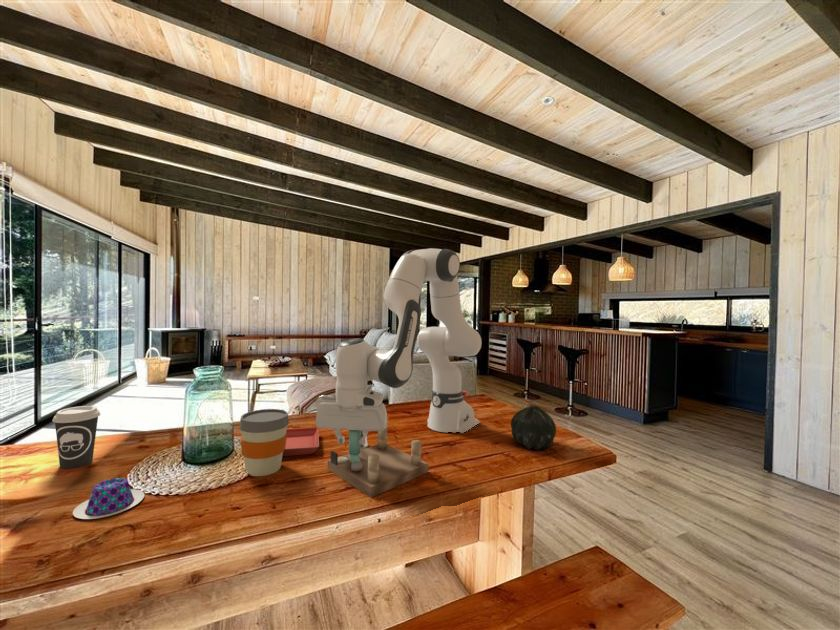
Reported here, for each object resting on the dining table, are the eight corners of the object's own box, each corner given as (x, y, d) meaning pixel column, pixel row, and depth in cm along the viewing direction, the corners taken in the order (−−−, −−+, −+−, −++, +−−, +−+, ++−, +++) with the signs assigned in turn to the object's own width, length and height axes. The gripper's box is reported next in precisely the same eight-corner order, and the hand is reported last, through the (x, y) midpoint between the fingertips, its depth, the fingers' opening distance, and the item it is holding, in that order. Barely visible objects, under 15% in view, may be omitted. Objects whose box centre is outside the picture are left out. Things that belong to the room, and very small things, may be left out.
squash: (534, 419, 133) (518, 392, 127) (570, 433, 121) (554, 404, 115) (513, 449, 128) (495, 423, 122) (548, 466, 116) (530, 438, 110)
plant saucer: (317, 435, 125) (318, 426, 125) (319, 456, 108) (319, 445, 108) (262, 439, 120) (262, 430, 120) (254, 462, 103) (254, 451, 103)
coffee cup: (107, 459, 101) (108, 407, 100) (65, 474, 92) (65, 416, 91) (86, 454, 104) (87, 403, 104) (43, 467, 95) (43, 412, 95)
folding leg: (363, 470, 92) (364, 442, 92) (351, 471, 92) (352, 443, 91) (359, 453, 103) (359, 428, 103) (348, 454, 102) (348, 428, 102)
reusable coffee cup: (256, 484, 90) (257, 425, 89) (228, 470, 96) (229, 416, 96) (297, 466, 100) (298, 413, 100) (269, 455, 107) (270, 406, 107)
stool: (383, 450, 113) (383, 424, 113) (428, 472, 99) (429, 442, 99) (327, 469, 99) (328, 439, 99) (370, 497, 85) (371, 462, 85)
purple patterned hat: (108, 525, 72) (108, 499, 72) (56, 519, 73) (56, 494, 73) (157, 494, 84) (158, 472, 84) (111, 490, 85) (112, 468, 85)
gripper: (311, 397, 98) (312, 446, 99) (383, 400, 96) (383, 450, 97) (320, 391, 105) (320, 437, 105) (388, 394, 102) (388, 441, 103)
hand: (351, 444), depth 101 cm, fingers open, 5 cm apart
